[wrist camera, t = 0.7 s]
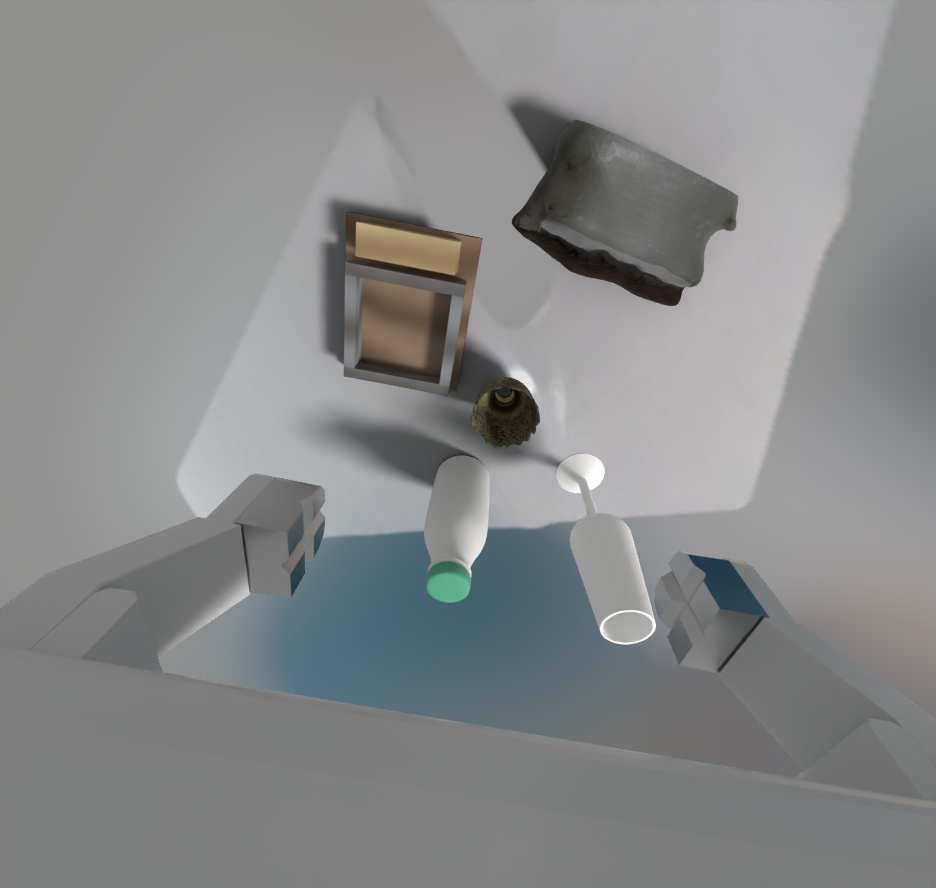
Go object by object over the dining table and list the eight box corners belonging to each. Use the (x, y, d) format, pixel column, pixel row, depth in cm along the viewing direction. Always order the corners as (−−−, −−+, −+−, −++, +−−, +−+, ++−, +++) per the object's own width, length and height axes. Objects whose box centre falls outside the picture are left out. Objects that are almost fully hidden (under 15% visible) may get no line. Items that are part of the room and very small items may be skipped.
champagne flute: (614, 463, 54) (684, 617, 34) (588, 499, 58) (638, 658, 37) (570, 446, 53) (615, 592, 33) (547, 483, 57) (574, 637, 36)
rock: (503, 241, 42) (504, 247, 35) (549, 112, 36) (561, 88, 30) (656, 304, 44) (686, 321, 37) (722, 191, 38) (771, 186, 32)
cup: (463, 386, 50) (457, 413, 43) (510, 351, 48) (512, 374, 41) (499, 427, 53) (498, 459, 46) (545, 396, 50) (552, 425, 43)
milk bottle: (430, 458, 56) (399, 566, 39) (483, 449, 55) (475, 557, 37) (444, 501, 60) (422, 617, 42) (494, 493, 58) (492, 610, 41)
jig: (350, 212, 41) (335, 212, 37) (482, 238, 42) (480, 240, 38) (348, 366, 50) (335, 378, 46) (457, 386, 50) (453, 400, 46)
